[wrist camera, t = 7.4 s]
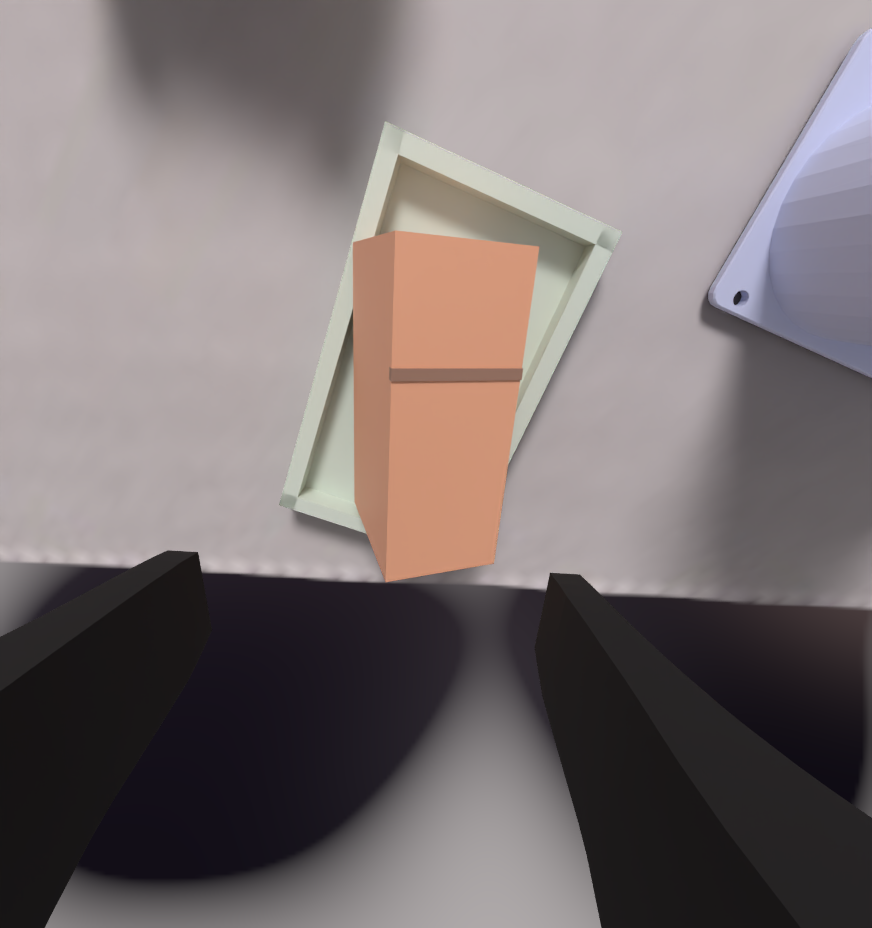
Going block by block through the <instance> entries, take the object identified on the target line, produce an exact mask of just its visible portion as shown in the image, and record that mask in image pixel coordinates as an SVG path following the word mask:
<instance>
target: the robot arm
mask: <svg viewBox="0 0 872 928" xmlns="http://www.w3.org/2000/svg"><path fill="white" fill-rule="evenodd" d="M739 291H740V292H741V296H742V297H741V300H740V302H739V303H738V304H737V305H734V303H733V298H734V295H735V294H736V293H737V292H739ZM708 300H709V302H710V304H711V305H713V306H714V307H716V308H718V309H720V310H722V311H725V312H727V313H729V314H731V315H733V316H736V317H738V318H740V319H742V320H744V321H747V322H749V323H751V324H753V325H755V326H758V327H760V328H762V329H764V330H766V331H769V332H771V333H773V334H775V335H777V336H780V337H782V338H784V339H786V340H788V341H791V342H793V343H795V344H797V345H799V346H802V347H804V348H806V349H808V350H810V351H813V352H815V353H817V354H819V355H821V356H824V357H826V358H828V359H830V360H832V361H835V362H837V363H839V364H841V365H843V366H846V367H848V368H850V369H852V370H854V371H857V372H859V373H861V374H863V375H865V376H868V377H870V378H872V28H871V29H869V30H867V31H866V32H864V33H863V34H862V35H860V36H859V37H858V39H857V40H856V41H855V42H854V44H853V46H852V47H851V49H850V51H849V52H848V54H847V56H846V57H845V59H844V61H843V63H842V64H841V66H840V68H839V69H838V71H837V73H836V74H835V76H834V78H833V80H832V81H831V83H830V85H829V86H828V88H827V90H826V91H825V93H824V95H823V97H822V98H821V100H820V102H819V103H818V105H817V107H816V109H815V110H814V112H813V114H812V115H811V117H810V119H809V120H808V122H807V124H806V126H805V127H804V129H803V131H802V132H801V134H800V136H799V137H798V139H797V141H796V143H795V144H794V146H793V148H792V149H791V151H790V153H789V154H788V156H787V158H786V160H785V161H784V163H783V165H782V166H781V168H780V170H779V171H778V173H777V175H776V177H775V178H774V180H773V182H772V183H771V185H770V187H769V189H768V190H767V192H766V194H765V195H764V197H763V199H762V200H761V202H760V204H759V206H758V207H757V209H756V211H755V212H754V214H753V216H752V217H751V219H750V221H749V223H748V224H747V226H746V228H745V229H744V231H743V233H742V234H741V236H740V238H739V240H738V241H737V243H736V245H735V246H734V248H733V250H732V252H731V253H730V255H729V257H728V258H727V260H726V262H725V263H724V265H723V267H722V269H721V270H720V272H719V274H718V275H717V277H716V279H715V280H714V282H713V284H712V286H711V287H710V290H709V292H708ZM211 631H212V628H211V623H210V617H209V611H208V606H207V600H206V594H205V589H204V583H203V578H202V572H201V566H200V561H199V555H198V552H184V551H166V552H163V553H161V554H159V555H157V556H155V557H153V558H151V559H149V560H147V561H145V562H143V563H141V564H139V565H137V566H135V567H133V568H131V569H129V570H127V571H125V572H124V573H122V574H120V575H118V576H116V577H114V578H112V579H110V580H109V581H107V582H105V583H103V584H101V585H99V586H97V587H96V588H94V589H92V590H90V591H88V592H86V593H84V594H82V595H81V596H79V597H77V598H75V599H73V600H71V601H69V602H68V603H66V604H64V605H62V606H60V607H58V608H56V609H54V610H53V611H51V612H49V613H47V614H45V615H43V616H41V617H39V618H37V619H35V620H33V621H31V622H29V623H27V624H25V625H24V626H21V627H19V628H17V629H15V630H13V631H11V632H10V633H7V634H5V635H3V636H1V637H0V928H45V926H46V924H47V922H48V920H49V918H50V916H51V914H52V912H53V910H54V908H55V906H56V904H57V902H58V900H59V898H60V897H61V895H62V893H63V891H64V889H65V887H66V885H67V883H68V881H69V879H70V878H71V876H72V874H73V872H74V870H75V868H76V866H77V864H78V862H79V860H80V858H81V856H82V855H83V853H84V851H85V849H86V847H87V845H88V843H89V841H90V839H91V837H92V836H93V834H94V832H95V830H96V829H97V827H98V825H99V824H100V822H101V820H102V818H103V817H104V815H105V813H106V812H107V810H108V808H109V807H110V805H111V803H112V801H113V800H114V798H115V797H116V795H117V794H118V792H119V790H120V789H121V787H122V786H123V784H124V782H125V781H126V779H127V778H128V776H129V775H130V773H131V771H132V770H133V768H134V767H135V765H136V763H137V762H138V760H139V758H140V757H141V755H142V754H143V752H144V751H145V749H146V748H147V746H148V744H149V743H150V741H151V740H152V738H153V736H154V735H155V733H156V732H157V730H158V728H159V727H160V725H161V724H162V722H163V721H164V719H165V717H166V716H167V714H168V712H169V711H170V709H171V708H172V706H173V704H174V703H175V701H176V700H177V698H178V696H179V695H180V693H181V691H182V690H183V688H184V686H185V685H186V683H187V681H188V680H189V678H190V676H191V674H192V672H193V670H194V668H195V666H196V664H197V662H198V660H199V658H200V655H201V653H202V651H203V649H204V646H205V644H206V642H207V640H208V637H209V635H210V633H211ZM535 653H536V660H537V666H538V673H539V678H540V684H541V690H542V696H543V700H544V703H545V707H546V711H547V714H548V718H549V721H550V725H551V729H552V732H553V735H554V739H555V743H556V746H557V750H558V753H559V757H560V760H561V764H562V767H563V771H564V774H565V778H566V781H567V784H568V788H569V791H570V795H571V798H572V801H573V805H574V808H575V812H576V816H577V819H578V822H579V826H580V830H581V834H582V838H583V842H584V846H585V850H586V854H587V859H588V863H589V868H590V873H591V878H592V883H593V888H594V893H595V898H596V903H597V907H598V912H599V918H600V922H601V927H602V928H872V818H871V817H869V816H868V815H866V814H865V813H864V812H862V811H861V810H859V809H858V808H856V807H855V806H854V805H852V804H851V803H849V802H848V801H846V800H845V799H843V798H842V797H841V796H839V795H837V794H836V793H835V792H833V791H832V790H830V789H829V788H828V787H826V786H825V785H823V784H822V783H821V782H819V781H818V780H817V779H815V778H814V777H812V776H811V775H809V774H808V773H807V772H805V771H804V770H803V769H801V768H800V767H799V766H797V765H796V764H795V763H793V762H792V761H791V760H789V759H788V758H787V757H785V756H784V755H783V754H782V753H780V752H779V751H778V750H776V749H775V748H774V747H772V746H771V745H770V744H768V743H767V742H766V741H765V740H763V739H762V738H761V737H759V736H758V735H757V734H756V733H754V732H753V731H752V730H750V729H749V728H748V727H747V726H745V725H744V724H743V723H741V722H740V721H739V720H738V719H737V718H735V717H734V716H733V715H732V714H730V713H729V712H728V711H727V710H725V709H724V708H723V707H722V706H721V705H719V704H718V703H717V702H716V701H715V700H713V699H712V698H711V697H710V696H709V695H708V694H707V693H705V692H704V691H703V690H702V689H701V688H700V687H698V686H697V685H696V684H695V683H694V682H693V681H691V680H690V679H689V678H688V677H687V676H686V675H684V674H683V673H682V672H681V671H680V670H679V669H678V668H677V667H676V666H674V665H673V664H672V663H671V662H670V661H669V660H668V659H667V658H666V657H665V656H664V655H662V654H661V653H660V652H659V651H658V650H657V649H656V648H655V647H654V646H653V645H652V644H651V643H650V642H648V640H646V639H645V638H644V637H643V636H642V635H641V634H640V633H639V632H638V631H637V630H636V629H635V628H634V627H633V626H632V625H631V624H630V623H629V622H628V621H627V620H626V619H625V618H624V617H623V616H622V615H621V614H620V613H619V612H618V611H617V610H615V608H614V607H612V606H611V605H610V604H609V603H608V602H607V601H606V600H605V599H604V598H603V597H602V596H601V595H600V594H599V593H598V592H597V591H596V590H595V589H594V588H593V587H592V586H591V585H590V584H589V583H588V582H587V581H586V580H585V579H584V578H583V577H582V576H581V575H577V574H560V573H550V576H549V581H548V586H547V591H546V596H545V601H544V606H543V611H542V615H541V620H540V625H539V630H538V634H537V639H536V644H535Z"/></svg>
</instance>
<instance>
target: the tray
mask: <svg viewBox="0 0 872 928" xmlns="http://www.w3.org/2000/svg"><path fill="white" fill-rule="evenodd" d="M395 230H396V231H405V232H414V233H423V234H432V235H441V236H450V237H459V238H468V239H477V240H486V241H495V242H504V243H513V244H522V245H531V246H539V253H538V260H537V267H536V274H535V281H534V288H533V295H532V302H531V309H530V316H529V323H528V330H527V337H526V344H525V350H524V357H523V364H522V368H523V374H522V380H520V385H519V392H518V399H517V406H516V413H515V420H514V427H513V434H512V441H511V448H510V455H509V461H508V464H509V462H510V460H511V458H512V456H513V454H514V452H515V450H516V448H517V446H518V444H519V442H520V440H521V438H522V436H523V433H524V431H525V429H526V427H527V425H528V423H529V421H530V419H531V417H532V415H533V413H534V411H535V409H536V407H537V405H538V403H539V401H540V399H541V397H542V395H543V393H544V391H545V389H546V387H547V385H548V383H549V381H550V378H551V376H552V374H553V372H554V370H555V368H556V366H557V364H558V362H559V360H560V358H561V356H562V354H563V352H564V350H565V348H566V346H567V344H568V342H569V340H570V338H571V336H572V334H573V332H574V330H575V328H576V326H577V323H578V321H579V319H580V317H581V315H582V313H583V311H584V309H585V307H586V305H587V303H588V301H589V299H590V297H591V295H592V293H593V291H594V289H595V287H596V285H597V283H598V281H599V279H600V277H601V275H602V273H603V271H604V268H605V266H606V264H607V262H608V260H609V258H610V256H611V254H612V252H613V250H614V248H615V246H616V244H617V242H618V240H619V238H620V236H621V234H622V231H619V230H617V229H615V228H613V227H611V226H609V225H607V224H604V223H602V222H600V221H598V220H596V219H594V218H592V217H589V216H587V215H585V214H583V213H581V212H579V211H577V210H574V209H572V208H570V207H568V206H566V205H564V204H562V203H559V202H557V201H555V200H553V199H551V198H549V197H547V196H544V195H542V194H540V193H538V192H536V191H534V190H532V189H529V188H527V187H525V186H523V185H521V184H519V183H517V182H514V181H512V180H510V179H508V178H506V177H504V176H502V175H499V174H497V173H495V172H493V171H491V170H489V169H487V168H484V167H482V166H480V165H478V164H476V163H474V162H472V161H469V160H467V159H465V158H463V157H461V156H459V155H457V154H454V153H452V152H450V151H448V150H446V149H444V148H442V147H439V146H437V145H435V144H433V143H431V142H429V141H427V140H424V139H422V138H420V137H418V136H416V135H414V134H412V133H409V132H407V131H405V130H403V129H401V128H399V127H397V126H394V125H392V124H390V123H388V122H386V121H385V124H384V127H383V131H382V134H381V138H380V142H379V145H378V149H377V152H376V156H375V160H374V163H373V167H372V171H371V174H370V178H369V181H368V185H367V189H366V192H365V196H364V199H363V203H362V207H361V210H360V214H359V218H358V221H357V225H356V228H355V232H354V236H353V239H352V243H351V247H350V250H349V254H348V257H347V261H346V265H345V268H344V272H343V275H342V279H341V283H340V286H339V290H338V294H337V297H336V301H335V304H334V308H333V312H332V315H331V319H330V322H329V326H328V330H327V333H326V337H325V341H324V344H323V348H322V351H321V355H320V359H319V362H318V366H317V369H316V373H315V377H314V380H313V384H312V388H311V391H310V395H309V398H308V402H307V406H306V409H305V413H304V417H303V420H302V424H301V427H300V431H299V435H298V438H297V442H296V445H295V449H294V453H293V456H292V460H291V464H290V467H289V471H288V474H287V478H286V482H285V485H284V489H283V492H282V496H281V500H280V503H279V505H280V506H283V507H286V508H289V509H292V510H295V511H298V512H301V513H305V514H308V515H311V516H314V517H317V518H320V519H323V520H326V521H329V522H332V523H335V524H338V525H342V526H345V527H348V528H351V529H354V530H357V531H360V532H363V533H366V530H365V528H364V525H363V523H362V520H361V517H360V515H359V512H358V510H357V507H356V505H355V502H354V364H353V242H356V241H360V240H363V239H367V238H370V237H374V236H377V235H381V234H384V233H388V232H391V231H395ZM366 534H367V533H366Z"/></svg>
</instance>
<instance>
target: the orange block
mask: <svg viewBox="0 0 872 928" xmlns="http://www.w3.org/2000/svg"><path fill="white" fill-rule="evenodd" d="M538 253H539V246H531V245H522V244H513V243H504V242H495V241H486V240H477V239H468V238H459V237H450V236H441V235H432V234H423V233H414V232H405V231H396V230H395V231H391V232H388V233H384V234H381V235H377V236H374V237H370V238H367V239H363V240H360V241H356V242H353V364H354V502H355V505H356V507H357V510H358V512H359V515H360V517H361V520H362V523H363V525H364V528H365V530H366V533H367V535H368V538H369V541H370V543H371V546H372V548H373V551H374V553H375V556H376V559H377V561H378V564H379V566H380V569H381V571H382V574H383V577H384V579H385V582H390V581H396V580H401V579H407V578H413V577H419V576H425V575H430V574H436V573H442V572H448V571H454V570H459V569H465V568H471V567H477V566H483V565H488V564H494V559H495V552H496V545H497V538H498V531H499V524H500V517H501V510H502V503H503V496H504V489H505V482H506V475H507V468H508V461H509V455H510V448H511V441H512V434H513V427H514V420H515V413H516V406H517V399H518V392H519V385H520V380H522V374H523V368H522V364H523V357H524V350H525V344H526V337H527V330H528V323H529V316H530V309H531V302H532V295H533V288H534V281H535V274H536V267H537V260H538Z"/></svg>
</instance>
